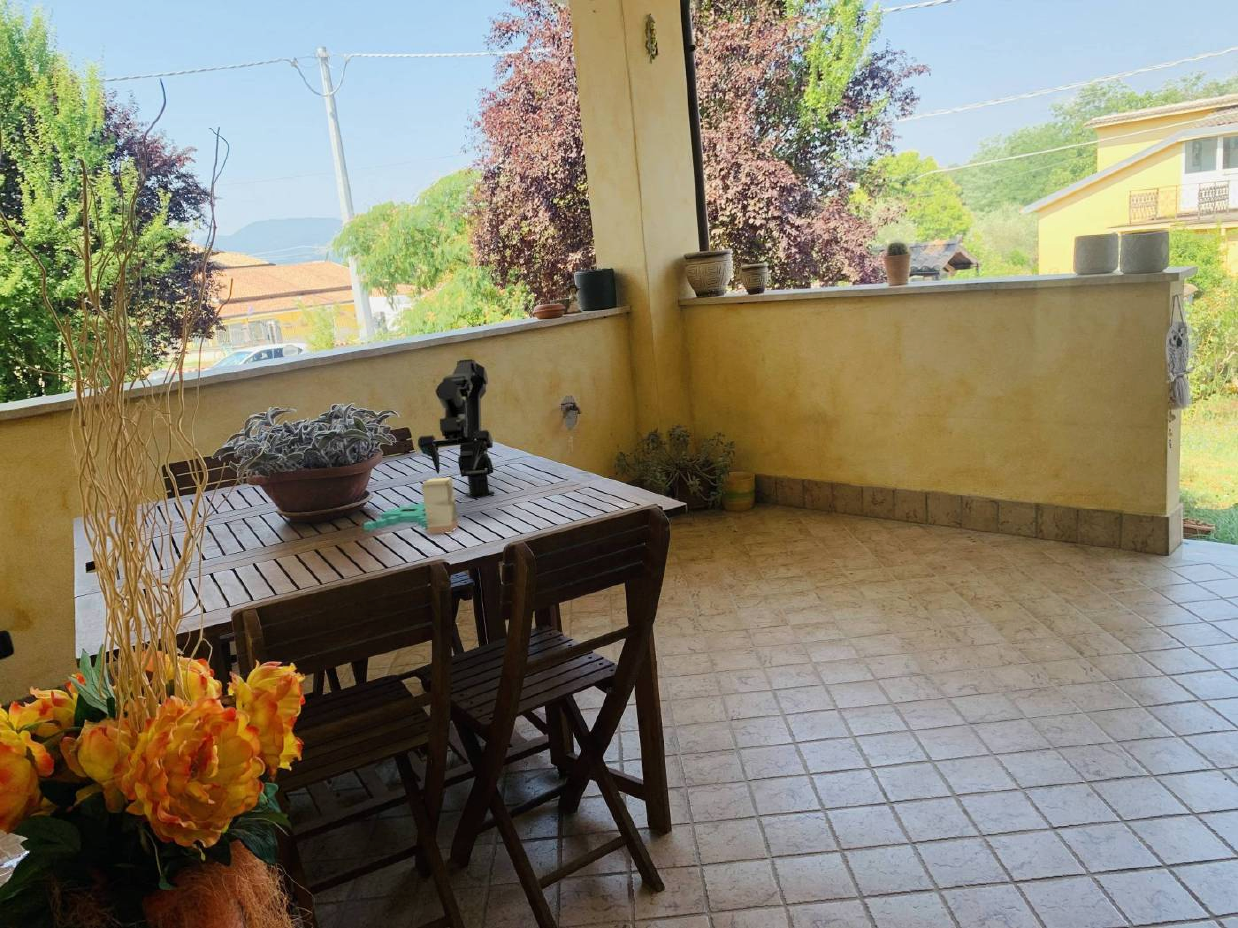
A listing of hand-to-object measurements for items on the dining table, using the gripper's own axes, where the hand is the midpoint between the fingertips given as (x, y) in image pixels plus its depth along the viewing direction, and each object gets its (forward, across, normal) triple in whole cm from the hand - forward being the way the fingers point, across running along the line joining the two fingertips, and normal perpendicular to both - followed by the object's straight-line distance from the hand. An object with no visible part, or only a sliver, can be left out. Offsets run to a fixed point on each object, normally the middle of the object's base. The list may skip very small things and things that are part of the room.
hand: (455, 471), depth 236 cm
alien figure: (+7, -14, +15) cm, 21 cm away
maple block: (+15, -4, +3) cm, 16 cm away
